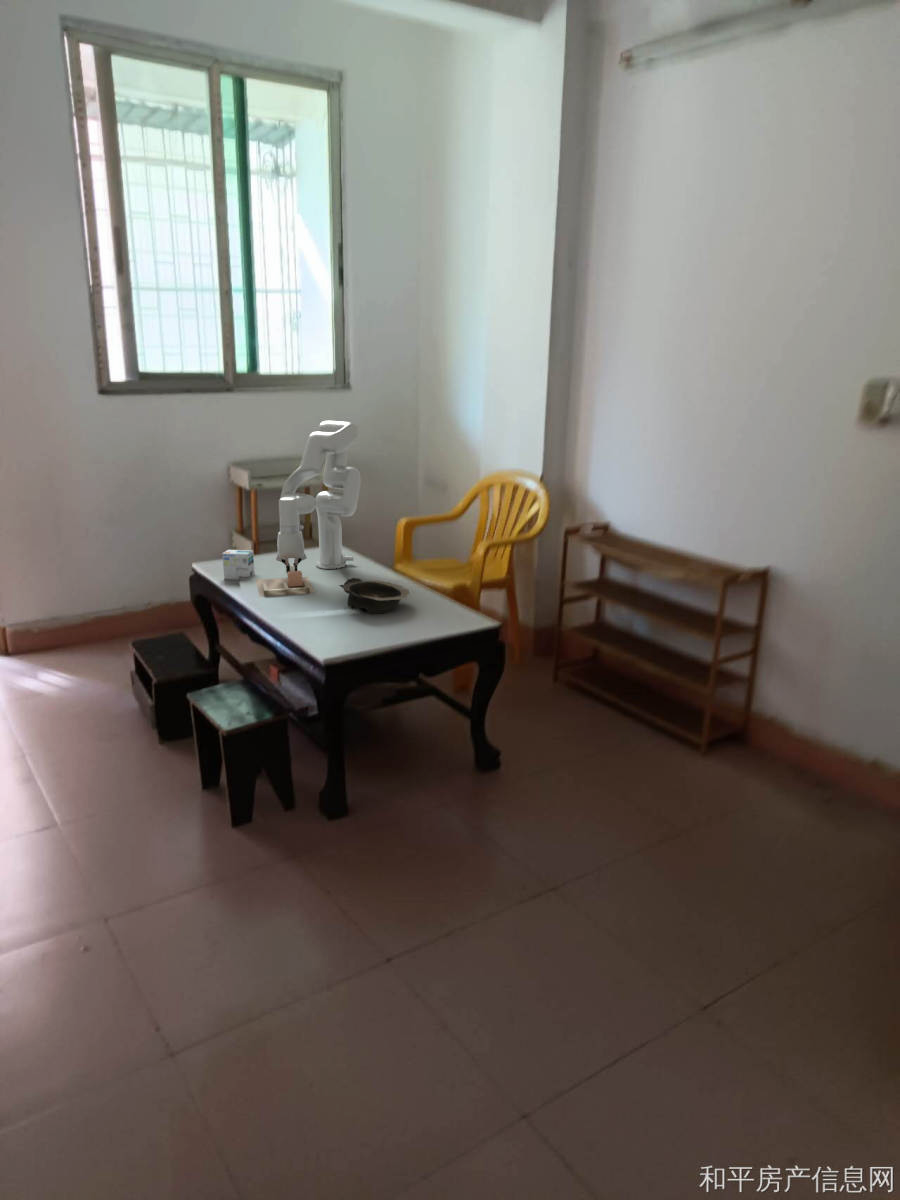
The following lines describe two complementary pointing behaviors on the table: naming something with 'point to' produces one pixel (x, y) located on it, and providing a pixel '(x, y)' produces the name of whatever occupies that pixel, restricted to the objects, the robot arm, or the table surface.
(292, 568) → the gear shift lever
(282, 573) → the table surface
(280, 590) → the lane shelf
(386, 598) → the stone bowl
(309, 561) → the table surface
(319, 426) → the robot arm
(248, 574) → the light bulb box
